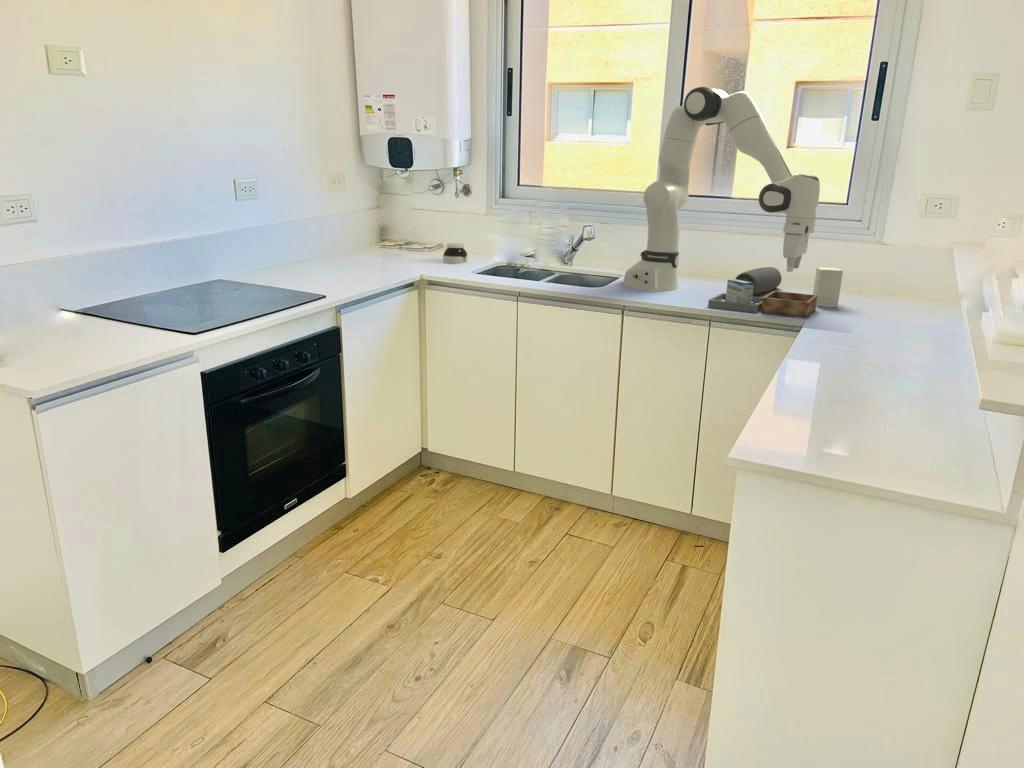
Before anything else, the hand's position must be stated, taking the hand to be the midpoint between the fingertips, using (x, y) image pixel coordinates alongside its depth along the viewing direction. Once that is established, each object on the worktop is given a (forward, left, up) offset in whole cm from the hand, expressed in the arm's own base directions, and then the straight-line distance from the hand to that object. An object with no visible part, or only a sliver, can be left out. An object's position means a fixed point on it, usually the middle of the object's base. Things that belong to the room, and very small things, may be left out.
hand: (792, 269), depth 243 cm
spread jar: (-134, +2, -14) cm, 135 cm away
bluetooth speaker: (-16, +24, -14) cm, 31 cm away
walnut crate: (0, 0, -14) cm, 14 cm away
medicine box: (-16, -1, -14) cm, 21 cm away
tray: (-16, -1, -14) cm, 21 cm away
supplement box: (+8, +19, -14) cm, 25 cm away
